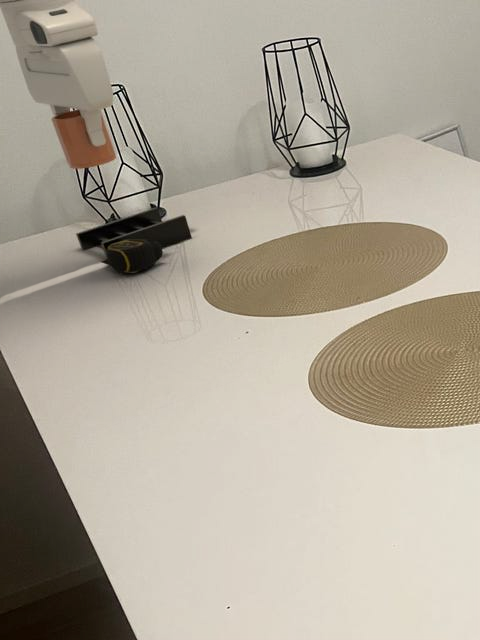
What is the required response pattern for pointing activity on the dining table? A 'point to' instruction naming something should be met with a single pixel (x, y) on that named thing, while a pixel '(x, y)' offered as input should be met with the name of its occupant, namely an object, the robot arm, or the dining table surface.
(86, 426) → the dining table surface
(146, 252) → the tape measure
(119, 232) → the rack
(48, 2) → the robot arm
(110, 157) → the pot
